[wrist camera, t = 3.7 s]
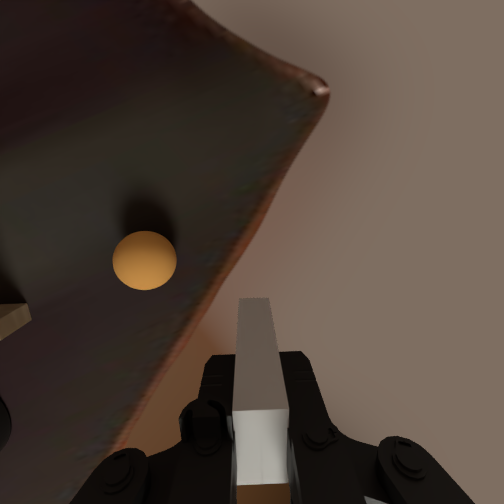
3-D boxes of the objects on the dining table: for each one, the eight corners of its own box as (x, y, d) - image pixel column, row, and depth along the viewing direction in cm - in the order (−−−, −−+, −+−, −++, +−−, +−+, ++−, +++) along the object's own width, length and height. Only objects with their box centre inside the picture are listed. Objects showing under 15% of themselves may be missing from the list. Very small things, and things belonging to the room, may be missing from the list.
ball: (184, 275, 28) (170, 299, 23) (132, 277, 28) (106, 301, 22) (179, 225, 26) (163, 237, 21) (124, 226, 26) (94, 239, 21)
